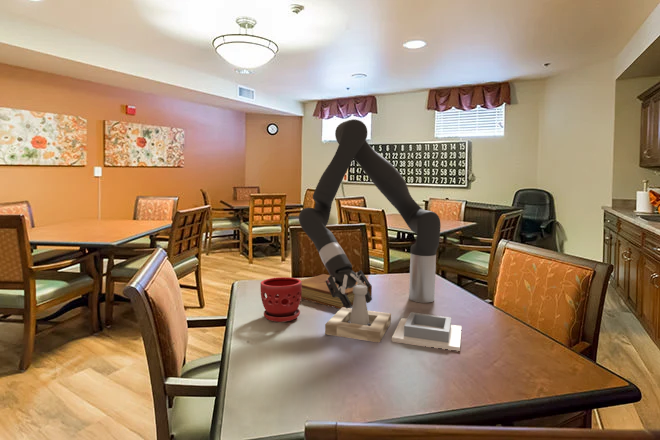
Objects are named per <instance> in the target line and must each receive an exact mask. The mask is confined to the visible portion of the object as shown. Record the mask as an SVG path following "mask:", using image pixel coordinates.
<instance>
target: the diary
mask: <svg viewBox="0 0 660 440" xmlns="http://www.w3.org/2000/svg"><path fill="white" fill-rule="evenodd" d="M329 276H330V274H325V273H322V274H319V275H316V276H313V277H308V278H305V279H302V280H301V282H302V295H301V299H302V298H303V300H306V301H310V302H314V303H318V304H321V305H324V306H328V307H331V308H332V307H333V308H335V309H339V310H340V309H341V308H342V307H344V306H343V304H342V302H341V300H340V298H338V297H332V295H331V293H330V291H329V288H328V286H327V284H326V282H325V281H326V280H327V279H328V278H329ZM364 283H365V282H364ZM335 284H336V283H335ZM356 284H357V282H356ZM356 284H355V285H356ZM365 285H366V283H365ZM336 286H337V288H338V284H336ZM372 288H373V287H372V284H371V283H370V286H369V287H368V288H367V289H368V291H369V293H370V295H371V297H373V296H372V291H373V289H372ZM334 292H335V291H334ZM345 294H346V295H347V297H348V299H349V301H350V302H351V306H353V301H354V296H355V294H353V287H352V288H347V289H345ZM344 308H346V307H344Z"/></svg>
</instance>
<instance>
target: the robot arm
mask: <svg viewBox="0 0 660 440" xmlns="http://www.w3.org/2000/svg"><path fill="white" fill-rule="evenodd" d="M367 138H368V127H367V125H366V124H365V123H364V121H362V120H360V119H357V118H356V119H354V118H353V119H349V120H345V121H343V122H341V123H339V125H337V127H336V129H335V140H336V141H337V143H338V147H337V149H336V151H335V153H334V155H333V157H332V159H331V161H330V162H329V164H328V165H327V167H326V169H325V170H324V171H323V173H322V175H321V177H320V178H319V179H318V180H319V181H318V183H317V184H316V187H315V189H314V192H313V194H312V199H313V201H314V202H315V205H314V208H313V207H305V208H303V209H301V211H300V213H299V214H298V222H299V225H300V227H301V229H302V230H303V231H304V233H305V234H306V235H307V237H308V238H309V239H310V240H311V242H312V243H313V244H314V246H315V248H316V251H317V252H318V254H319V257H320V259H321V262H322V263H323V265H324V267H325V269H326V271H327V273H328V275H330V276H329V278H328V279H327V280H326V281H325V282H326V284H327V286H328V288H329V291H330V293H331V295H332V297H338V298H340V300H341V302H342V304H343V306H344V307H346V308H350V307H352V305H351V302H350V301H349V299H348V297H347V295H346V294H345V289H347V288H352V287H354V286H356V285H363V286H366V287H367V288H368V287H369V286H370V284H371V282H370V281H369V279H368V278H367V277H366V275H365V273H364V272H363V270H359V271H357V272H355V271H354V270H353V264H352V263H351V261H350V260H349V258H348V256H347V254H346V252H345V251H344V249H343V248H342V246H341V245H340V244H339V242H338V240H337V238H336V237H335V235H334V234H333V232H332V231H331V230H330V229H328V228H327V225H328V223H329V220H330V217H331V212H332V211H331V210H332V205H333V201H335V200H334V199H335V198H336V195H337V193H338V191H339V189H340V186H341V183H342V182H343V179H344V178H345V175H346V173H347V171H348V170H349V168H350V166H351V164H352V162H353V160H354V161H356V163H358V165H359V166H360V168H361V169H362V171H363V172H364V173H365V174H366V176H367V177H368V178H369V179H370V181H371V182H372V183H373V185H374V186H375V187H376V189H378V191H380V193H381V194H382V195H383V196H384V197H385V198H386V200H387V201H388V202H389V204H391V205H392V206H393V208H394V209H396V211H398V213H399V214H400V216H401V218H402V219H403V220H404V222H405V224H406V225H407V226H408V228H409V229H410V231H411V232H413V233H415V234H416V238H415V242H414V244H411V246H410V258H409V260H410V263H409V284H408V287H409V288H408V299H409V300H410V301H412V302H415V303H422V304H423V303H424V304H427V303H431V302H432V303H433V302H434V301H435V291H436V290H435V289H436V269H437V265H436V263H437V251H438V248H439V245H440V238H441V237H440V236H441V219H440V216H439V214H437V212H434V211H433V210H426V209H424V208H422V207H421V206H420V205H419V204H418V203H417V202H416V201H415V199H414V198H413V197H412V195H411V193H410V191H409V187H408V185H407V182H406V180H405V179H404V177H403V175H402V174H401V173H400V172H399V170H398V169H397V168H396V167H395V166H394V165H393V164H392V163H391V162H390V161H389V160H387V159H386V158H385V157H383V156H382V155H381V154H379V152H377V151H376V150H375V149H374V148H373V147H372V146H371V145H370V144H369V142H368V141H367ZM356 282H357V284H356ZM335 283H336V284H338V288H337V286H336V284H335ZM365 283H366V285H365ZM355 284H356V285H355ZM334 291H335V292H334ZM365 299H366V304H368V303H370V302H372V300H373V296H371V295H370V293H369V291H368V289H367V294H366V295H365Z"/></svg>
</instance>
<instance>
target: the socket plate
mask: <svg viewBox="0 0 660 440" xmlns="http://www.w3.org/2000/svg"><path fill="white" fill-rule="evenodd" d="M462 327H463V326H462V325H458V324H457V325H455V324H452V317H450V316H443V315H442V316H441V315H436V314H428V313H420V312H413V311H410V312H409V315H408V316H407V318H403V317H401V319H400V320H399V322H398V324H397V326H396V328H395V330H394V332H393V335H392V336H391V342H393V343H399V344H405V345H413V346H419V347H425V346H426V348H431V347H434V348H433V349H438V348H442V349H441V350H445V349H448V350H447V351H451V350H457V351H456V352H458V351H461V341H462V331H461V330H463V329H462Z"/></svg>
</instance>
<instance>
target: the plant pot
mask: <svg viewBox="0 0 660 440" xmlns="http://www.w3.org/2000/svg"><path fill="white" fill-rule="evenodd" d="M301 295H302V282H301V280H300V279H299V278H296V277H290V276H289V277H280V276H279V277H270V278H266V279H264V280H262V281H261V282H260V296H261V297H260V298H261V302H262V306H263V307H264V311H263V316H264V318H266V319H267V320H269V321H271V322H276V323H282V322H283V323H285V322H292V321H293V320H295V319H297V318H298V317H299V316H300V314H301V309H299V307H300V304H301V301H302V298H301Z"/></svg>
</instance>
